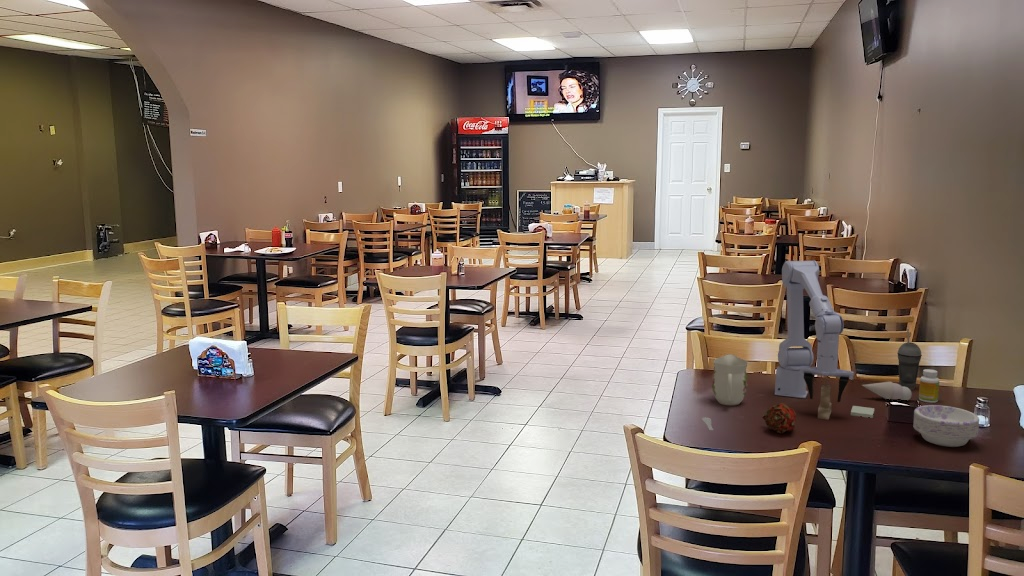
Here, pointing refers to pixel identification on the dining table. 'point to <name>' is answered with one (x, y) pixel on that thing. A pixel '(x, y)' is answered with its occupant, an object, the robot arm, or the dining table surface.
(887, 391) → the ice cream cone
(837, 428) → the dining table surface
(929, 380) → the supplement bottle
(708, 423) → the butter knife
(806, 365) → the robot arm
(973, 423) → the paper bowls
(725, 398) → the pitcher
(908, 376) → the beverage cup
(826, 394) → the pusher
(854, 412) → the tile
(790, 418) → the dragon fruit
